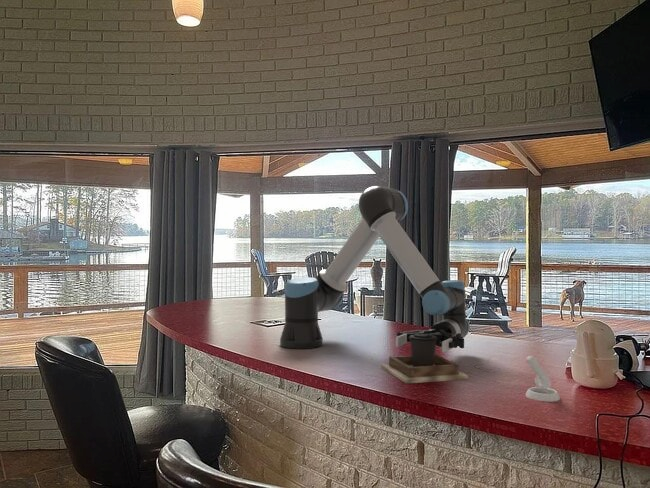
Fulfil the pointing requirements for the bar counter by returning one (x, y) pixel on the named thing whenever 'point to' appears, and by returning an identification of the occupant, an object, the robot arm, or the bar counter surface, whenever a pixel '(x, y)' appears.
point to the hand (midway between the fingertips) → (419, 344)
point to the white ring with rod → (541, 384)
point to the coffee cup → (423, 349)
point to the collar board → (423, 370)
